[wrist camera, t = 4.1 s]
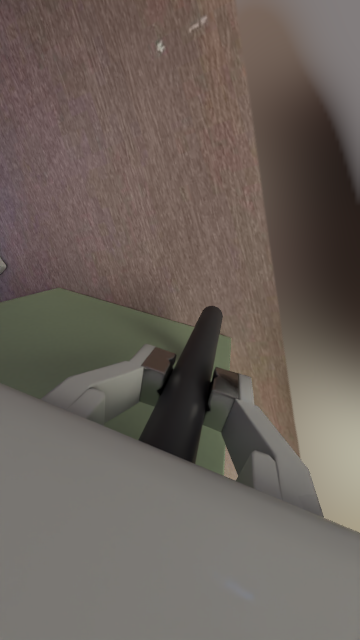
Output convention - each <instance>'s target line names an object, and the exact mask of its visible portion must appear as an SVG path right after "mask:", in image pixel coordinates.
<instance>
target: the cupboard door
mask: <svg viewBox="0 0 360 640" xmlns="http://www.w3.org/2000/svg"><path fill="white" fill-rule="evenodd" d="M222 317H223V315H222V312H221V310H220V309H219V308H217V307H215V306H208V307H206V308H205V309H204V310H203V311H202V313H201V315H200V317H199V319H198V321H197V323H196V325H195V327H192V326H189V325H185V324H182V323H178V322H175V321H171V320H168V319H165V318H161V317H158V316H154V315H151V314H147V313H144V312H141V311H137V310H134V309H130V308H127V307H123V306H120V305H117V304H113V303H110V302H106V301H103V300H99V299H96V298H93V297H89V296H86V295H82V294H79V293H75V292H72V291H68V290H65V289H62V288H56V289H52V290H48V291H44V292H40V293H36V294H32V295H28V296H24V297H20V298H16V299H12V300H8V301H4V302H0V383H2V384H4V385H7V386H9V387H12V388H14V389H16V390H19V391H21V392H24V393H26V394H28V395H31V396H33V397H36V398H38V399H41V398H42V397H44V396H45V395H46V394H48V393H49V392H50V391H51V390H53V389H54V388H55V387H56V386H58V385H59V384H60V383H62V382H63V381H64V380H65V379H67V378H68V377H70V376H74V375H77V374H81V373H84V372H88V371H91V370H95V369H98V368H102V367H105V366H109V365H112V364H116V363H119V362H123V361H128V362H129V361H130V360H131V358H132V357H133V356H134V355H135V354H136V353H137V352H138V351H139V350H140V349H141V348H142V346H143V345H144V344H149V345H152V346H156V347H158V348H161V349H164V350H167V351H170V352H173V353H176V361H175V363H174V365H173V371H172V373H171V375H170V377H169V379H168V381H167V383H166V385H165V387H164V389H163V391H162V393H161V395H160V397H159V399H158V401H157V403H156V405H155V407H154V406H151V405H148V404H145V403H142V402H139V403H137V404H136V405H134V406H132V407H131V408H129V409H127V410H126V411H124V412H122V413H121V414H119V415H118V416H116V417H114V418H113V419H111V420H109V421H108V422H106V423H104V426H105V427H108V428H110V429H112V430H115V431H117V432H120V433H122V434H124V435H127V436H129V437H131V438H134V439H136V440H139V441H141V442H143V443H146V444H148V445H151V446H153V447H155V448H158V449H160V450H163V451H165V452H167V453H170V454H172V455H175V456H177V457H179V458H182V459H184V460H187V461H189V462H191V463H194V464H196V465H199V466H201V467H203V468H206V469H208V470H211V471H213V472H215V473H218V474H220V475H223V476H224V462H225V442H224V439H223V437H222V434H221V432H219V431H216V430H214V429H212V428H209V427H207V426H204V425H203V419H204V414H205V408H206V403H207V398H208V393H209V387H210V382H211V381H212V377H213V373H214V370H215V367H219V368H222V369H225V370H228V371H229V370H230V351H231V338H230V337H226V336H223V335H220V328H221V323H222Z"/></svg>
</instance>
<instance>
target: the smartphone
mask: <svg viewBox="0 0 360 640" xmlns="http://www.w3.org/2000/svg"><path fill="white" fill-rule="evenodd" d="M5 268H6V265H5V263H4V262H3V261H2V259H1V258H0V274H1V273H2V272H3V271H4V270H5Z"/></svg>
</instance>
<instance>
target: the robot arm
mask: <svg viewBox="0 0 360 640" xmlns="http://www.w3.org/2000/svg"><path fill="white" fill-rule="evenodd" d="M175 361H176V353H173V352H170V351H167V350H164V349H161V348H158V347H156V346H152V345H149V344H144V345H143V346H142V348H141V349H140V350H139V351H138V352H137V353H136V354H135V355H134V356H133V357H132V358H131V360H130V361H129V362H128V361H123V362H119V363H116V364H112V365H109V366H105V367H102V368H98V369H95V370H91V371H88V372H84V373H81V374H77V375H74V376H70V377H68V378H67V379H65V380H64V381H63V382H62V383H60V384H59V385H58V386H56V387H55V388H54V389H53V390H51V391H50V392H49V393H48V394H46V395H45V396H44V397H42V398H41V399H38V398H36V397H33V396H31V395H28V394H26V393H24V392H21V391H19V390H16V389H14V388H12V387H9V386H7V385H4V384H2V383H0V640H360V533H359V532H357V531H354V530H352V529H350V528H347V527H345V526H342V525H340V524H338V523H335V522H333V521H331V520H328V519H325V518H324V516H323V513H322V510H321V507H320V504H319V501H318V497H317V494H316V491H315V488H314V485H313V482H312V479H311V476H310V472H309V469H308V468H307V467H306V466H305V464H304V463H303V462H302V461H301V459H300V458H299V457H298V456H297V454H296V453H295V452H294V451H293V449H292V448H291V447H290V445H289V444H288V443H287V442H286V440H285V439H284V438H283V437H282V435H281V434H280V433H279V432H278V430H277V429H276V428H275V427H274V425H273V424H272V423H271V422H270V420H269V419H268V418H267V417H266V415H265V414H264V413H263V412H262V410H261V409H260V408H259V407H258V406H256V405H254V397H253V388H252V380H251V377H250V376H246V375H243V374H239V373H235V372H232V371H228V370H225V369H222V368H219V367H215V370H214V373H213V377H212V381H211V382H210V387H209V393H208V398H207V403H206V408H205V414H204V419H203V425H204V426H207V427H209V428H212V429H214V430H216V431H219V432H221V434H222V437H223V439H224V442H225V444H226V447H227V449H228V452H229V454H230V457H231V459H232V461H233V464H234V466H235V469H236V471H237V474H238V478H237V480H236V481H235V480H232V479H230V478H227V477H225V476H223V475H220V474H218V473H215V472H213V471H211V470H208V469H206V468H203V467H201V466H199V465H196V464H194V463H191V462H189V461H187V460H184V459H182V458H179V457H177V456H175V455H172V454H170V453H167V452H165V451H163V450H160V449H158V448H155V447H153V446H151V445H148V444H146V443H143V442H141V441H139V440H136V439H134V438H131V437H129V436H127V435H124V434H122V433H120V432H117V431H115V430H112V429H110V428H108V427H105V426H104V423H106V422H108V421H109V420H111V419H113V418H114V417H116V416H118V415H119V414H121V413H122V412H124V411H126V410H127V409H129V408H131V407H132V406H134V405H136V404H137V403H139V402H142V403H145V404H148V405H151V406H154V407H155V405H156V403H157V401H158V399H159V397H160V395H161V393H162V391H163V389H164V387H165V385H166V383H167V381H168V379H169V377H170V375H171V373H172V371H173V365H174V363H175Z"/></svg>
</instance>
